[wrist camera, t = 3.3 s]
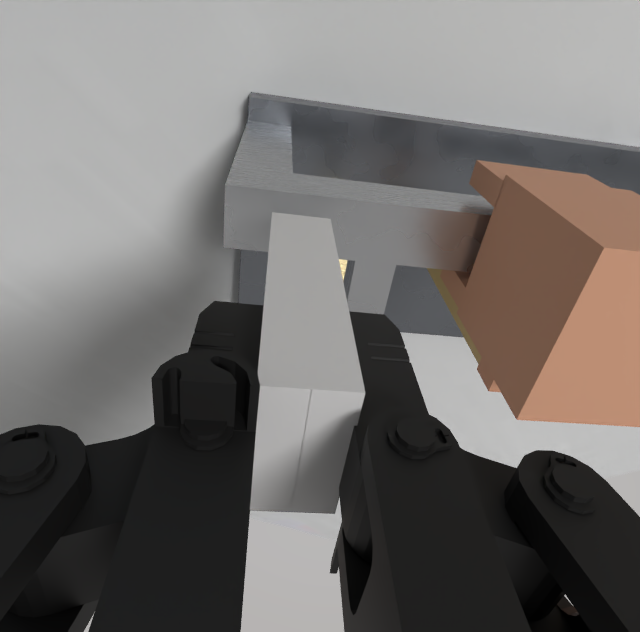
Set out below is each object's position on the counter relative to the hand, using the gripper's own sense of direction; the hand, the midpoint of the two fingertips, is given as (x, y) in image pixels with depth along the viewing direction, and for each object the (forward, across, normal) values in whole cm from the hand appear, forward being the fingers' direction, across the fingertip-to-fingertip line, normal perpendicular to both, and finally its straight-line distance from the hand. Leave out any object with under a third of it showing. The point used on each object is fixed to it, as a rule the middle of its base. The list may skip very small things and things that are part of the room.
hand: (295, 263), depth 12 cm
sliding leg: (+12, +8, -1) cm, 14 cm away
